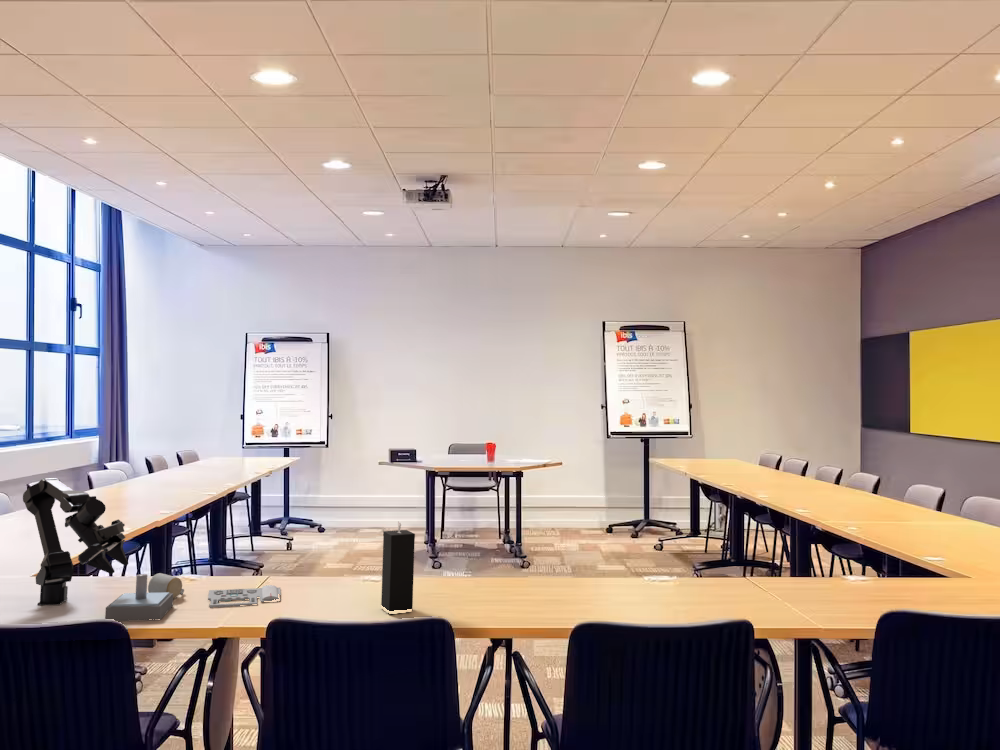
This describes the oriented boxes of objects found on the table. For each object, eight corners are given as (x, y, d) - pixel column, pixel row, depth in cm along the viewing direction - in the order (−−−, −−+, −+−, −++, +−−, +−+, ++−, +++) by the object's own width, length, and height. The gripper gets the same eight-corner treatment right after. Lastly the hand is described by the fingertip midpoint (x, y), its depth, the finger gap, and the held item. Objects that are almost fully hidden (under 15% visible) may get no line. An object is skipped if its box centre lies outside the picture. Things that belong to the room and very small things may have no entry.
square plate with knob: (110, 606, 216) (111, 580, 216) (124, 595, 229) (125, 570, 229) (157, 605, 218) (158, 579, 219) (169, 594, 231) (170, 570, 232)
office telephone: (280, 583, 258) (283, 597, 239) (280, 590, 258) (282, 605, 239) (209, 586, 250) (206, 601, 231) (208, 593, 250) (205, 609, 231)
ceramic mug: (167, 602, 237) (168, 577, 237) (146, 599, 239) (148, 575, 240) (190, 595, 247) (191, 571, 247) (170, 592, 249) (171, 569, 250)
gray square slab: (105, 621, 215) (105, 607, 215) (121, 607, 230) (122, 594, 230) (159, 620, 218) (160, 606, 218) (172, 606, 232) (173, 593, 232)
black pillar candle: (388, 615, 228) (391, 524, 229) (380, 609, 235) (383, 520, 236) (412, 612, 232) (415, 523, 233) (404, 606, 239) (406, 519, 240)
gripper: (92, 519, 216) (127, 559, 217) (122, 507, 235) (153, 544, 235) (62, 543, 216) (97, 584, 216) (94, 529, 234) (126, 567, 235)
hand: (120, 568), depth 226 cm, fingers open, 9 cm apart
